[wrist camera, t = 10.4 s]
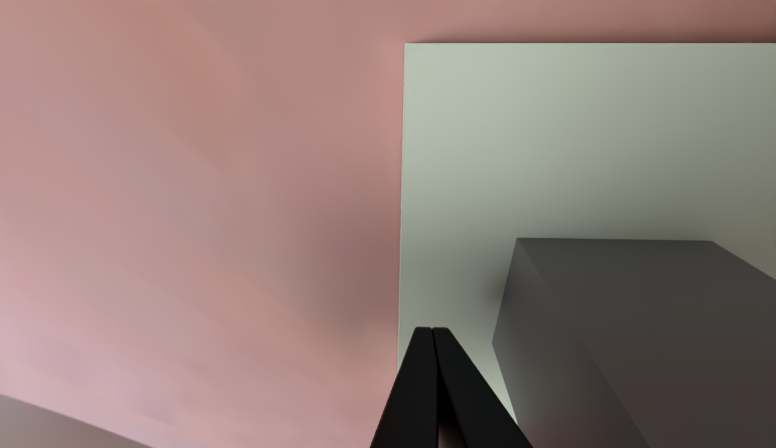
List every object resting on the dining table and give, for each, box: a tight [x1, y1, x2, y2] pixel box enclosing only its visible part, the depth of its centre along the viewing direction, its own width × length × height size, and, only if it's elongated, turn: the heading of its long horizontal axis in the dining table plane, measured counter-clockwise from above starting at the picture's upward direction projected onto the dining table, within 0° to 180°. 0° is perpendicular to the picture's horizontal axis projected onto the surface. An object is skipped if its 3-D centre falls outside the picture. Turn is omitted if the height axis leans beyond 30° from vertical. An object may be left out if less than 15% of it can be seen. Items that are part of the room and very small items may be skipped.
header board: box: [397, 43, 776, 424], centre depth 8 cm, size 17×13×4 cm
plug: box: [492, 238, 776, 448], centre depth 7 cm, size 4×5×5 cm
